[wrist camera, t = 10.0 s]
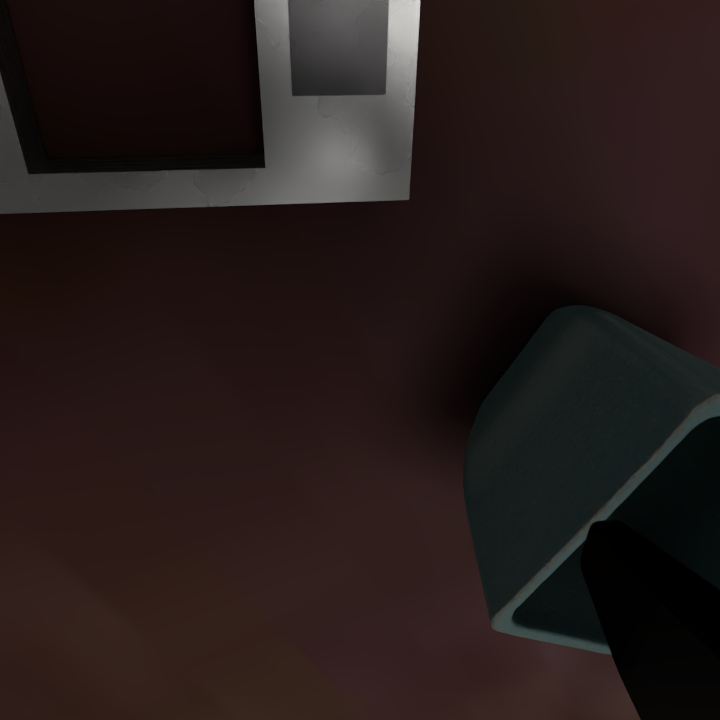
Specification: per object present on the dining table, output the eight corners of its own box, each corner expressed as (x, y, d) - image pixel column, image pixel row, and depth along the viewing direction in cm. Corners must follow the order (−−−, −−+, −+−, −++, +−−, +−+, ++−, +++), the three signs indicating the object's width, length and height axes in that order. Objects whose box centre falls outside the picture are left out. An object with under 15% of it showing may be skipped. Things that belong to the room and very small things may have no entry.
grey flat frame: (-98, 199, 17) (-130, 219, 15) (-249, -184, 12) (-314, -206, 11) (397, 183, 19) (409, 200, 17) (413, -154, 14) (431, -168, 13)
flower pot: (573, 486, 27) (696, 678, 20) (411, 429, 24) (484, 634, 16) (712, 331, 24) (926, 494, 16) (543, 239, 20) (714, 390, 13)
